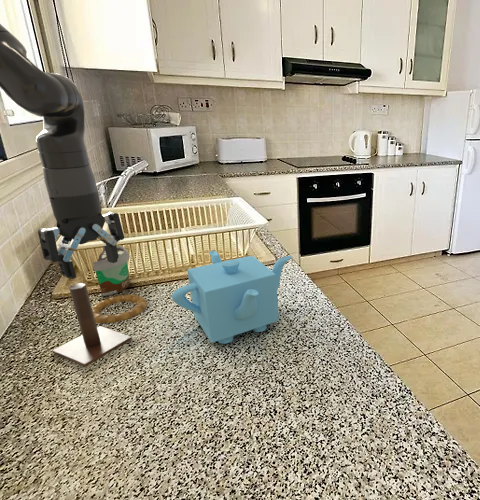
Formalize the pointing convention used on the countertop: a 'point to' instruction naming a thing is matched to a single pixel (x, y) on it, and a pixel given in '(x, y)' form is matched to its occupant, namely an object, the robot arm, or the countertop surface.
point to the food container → (112, 272)
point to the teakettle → (232, 296)
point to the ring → (138, 309)
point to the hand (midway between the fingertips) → (92, 269)
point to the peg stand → (89, 333)
